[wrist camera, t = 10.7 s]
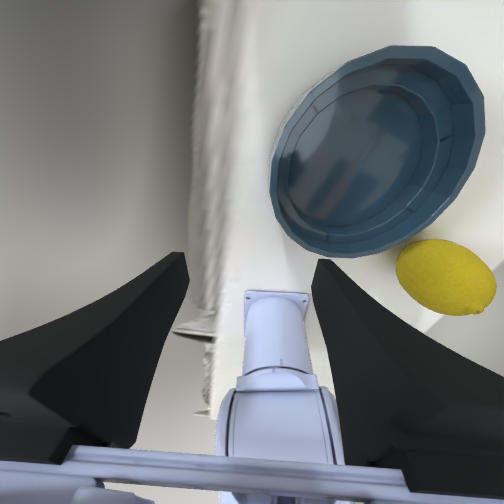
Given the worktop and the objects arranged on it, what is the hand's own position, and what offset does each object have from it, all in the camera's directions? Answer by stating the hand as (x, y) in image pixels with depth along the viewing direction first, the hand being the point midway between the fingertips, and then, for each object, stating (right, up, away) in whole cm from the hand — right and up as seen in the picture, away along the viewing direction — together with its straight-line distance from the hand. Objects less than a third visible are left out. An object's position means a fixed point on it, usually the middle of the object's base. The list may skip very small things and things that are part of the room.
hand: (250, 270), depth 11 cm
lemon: (+16, +1, +10) cm, 19 cm away
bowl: (+8, +8, +6) cm, 13 cm away
